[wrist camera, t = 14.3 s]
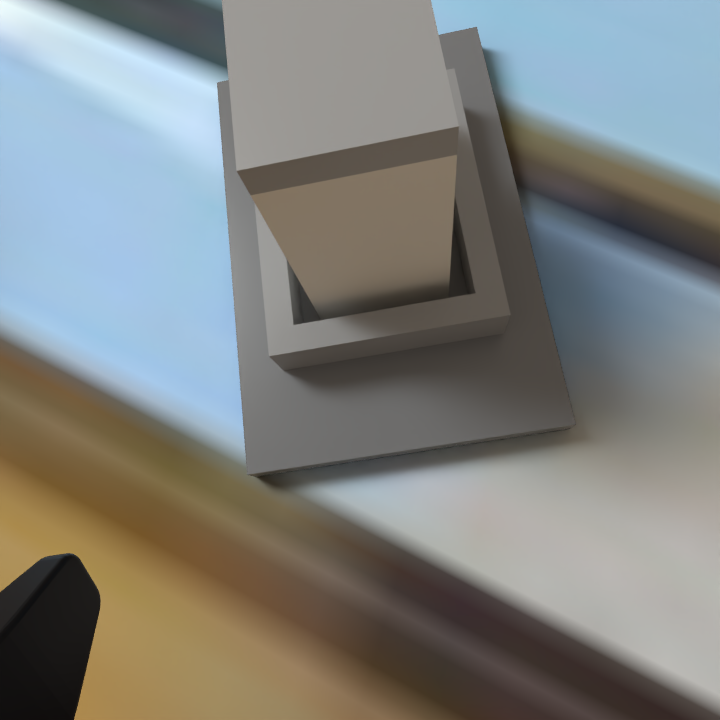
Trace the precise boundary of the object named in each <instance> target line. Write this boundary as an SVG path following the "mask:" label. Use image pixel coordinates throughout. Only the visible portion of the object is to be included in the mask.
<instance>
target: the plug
mask: <svg viewBox="0 0 720 720" xmlns="http://www.w3.org/2000/svg"><path fill="white" fill-rule="evenodd" d="M222 6H223V18H224V29H225V41H226V53H227V65H228V77H229V88H230V100H231V112H232V124H233V135H234V147H235V159H236V171H237V173H238V174H239V176H240V178H241V180H242V181H243V183H244V185H245V187H246V188H247V190H248V192H249V194H250V195H251V197H252V199H253V201H254V202H255V204H256V206H257V208H258V210H259V211H260V213H261V215H262V217H263V218H264V220H265V222H266V224H267V225H268V227H269V229H270V231H271V232H272V234H273V236H274V238H275V239H276V241H277V243H278V245H279V246H280V248H281V250H282V252H283V253H284V255H285V257H286V259H287V260H288V262H289V264H290V266H291V268H292V269H293V271H294V273H295V275H296V276H297V278H298V280H299V282H300V283H301V285H302V287H303V289H304V290H305V292H306V294H307V296H308V297H309V299H310V301H311V303H312V304H313V306H314V308H315V310H316V311H317V313H318V315H319V317H320V318H321V320H325V319H331V318H337V317H342V316H348V315H354V314H360V313H365V312H371V311H377V310H382V309H388V308H394V307H400V306H405V305H411V304H417V303H422V302H428V301H434V300H439V299H445V298H449V281H450V264H451V248H452V231H453V215H454V198H455V181H456V165H457V148H458V132H459V125H458V120H457V116H456V111H455V107H454V102H453V98H452V93H451V89H450V85H449V80H448V76H447V71H446V67H445V62H444V58H443V53H442V49H441V44H440V40H439V35H438V31H437V26H436V22H435V17H434V13H433V8H432V4H431V0H222Z"/></svg>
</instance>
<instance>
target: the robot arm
mask: <svg viewBox="0 0 720 720" xmlns="http://www.w3.org/2000/svg"><path fill="white" fill-rule="evenodd" d="M99 611H100V594H99V591H98V589H97V587H96V585H95V584H94V582H93V580H92V579H91V577H90V575H89V574H88V572H87V570H86V569H85V567H84V565H83V564H82V562H81V560H80V559H79V558H78V557H77V556H76V555H74V554H70V553H67V554H60V555H53V556H47V557H44V558H42V559H40V560H39V561H38V562H36V563H35V564H34V565H33V566H32V567H30V568H29V569H28V570H27V571H26V572H24V573H23V574H22V575H21V576H19V577H18V578H17V579H16V580H15V581H13V582H12V583H11V584H10V585H8V586H7V587H6V588H5V589H4V590H2V591H1V592H0V720H74V717H75V713H76V710H77V706H78V702H79V698H80V694H81V689H82V685H83V680H84V676H85V672H86V667H87V663H88V659H89V654H90V650H91V646H92V641H93V637H94V633H95V628H96V624H97V620H98V615H99Z"/></svg>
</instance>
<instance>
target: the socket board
mask: <svg viewBox="0 0 720 720" xmlns="http://www.w3.org/2000/svg"><path fill="white" fill-rule="evenodd" d="M439 40H440V44H441V49H442V53H443V58H444V62H445V67H446V71H447V76H448V80H449V85H450V89H451V93H452V98H453V102H454V107H455V111H456V116H457V120H458V125H459V132H458V148H457V165H456V181H455V198H454V215H453V231H452V248H451V264H450V281H449V298H445V299H439V300H434V301H428V302H422V303H417V304H411V305H405V306H400V307H394V308H388V309H382V310H377V311H371V312H365V313H360V314H354V315H348V316H342V317H337V318H331V319H325V320H321V318H320V317H319V315H318V313H317V311H316V310H315V308H314V306H313V304H312V303H311V301H310V299H309V297H308V296H307V294H306V292H305V290H304V289H303V287H302V285H301V283H300V282H299V280H298V278H297V276H296V275H295V273H294V271H293V269H292V268H291V266H290V264H289V262H288V260H287V259H286V257H285V255H284V253H283V252H282V250H281V248H280V246H279V245H278V243H277V241H276V239H275V238H274V236H273V234H272V232H271V231H270V229H269V227H268V225H267V224H266V222H265V220H264V218H263V217H262V215H261V213H260V211H259V210H258V208H257V206H256V204H255V202H254V201H253V199H252V197H251V195H250V194H249V192H248V190H247V188H246V187H245V185H244V183H243V181H242V180H241V178H240V176H239V174H238V173H237V171H236V159H235V147H234V135H233V124H232V112H231V100H230V88H229V80H227V81H222V82H218V83H217V88H218V101H219V114H220V127H221V140H222V153H223V166H224V179H225V192H226V205H227V218H228V231H229V244H230V257H231V270H232V283H233V296H234V309H235V322H236V335H237V348H238V361H239V374H240V387H241V400H242V413H243V426H244V439H245V452H246V465H247V475H251V476H255V477H257V476H263V475H270V474H276V473H283V472H289V471H296V470H303V469H309V468H316V467H322V466H329V465H335V464H342V463H348V462H355V461H361V460H368V459H375V458H381V457H388V456H394V455H401V454H407V453H414V452H420V451H427V450H433V449H440V448H447V447H453V446H460V445H466V444H473V443H479V442H486V441H492V440H499V439H505V438H512V437H519V436H525V435H532V434H538V433H545V432H551V431H558V430H564V429H570V428H571V427H573V426H574V425H576V423H575V419H574V415H573V411H572V407H571V403H570V399H569V395H568V391H567V387H566V383H565V379H564V375H563V371H562V367H561V363H560V359H559V355H558V351H557V347H556V343H555V339H554V335H553V331H552V327H551V323H550V319H549V315H548V311H547V307H546V303H545V299H544V295H543V291H542V287H541V283H540V279H539V275H538V271H537V267H536V263H535V259H534V255H533V251H532V247H531V243H530V239H529V235H528V231H527V227H526V223H525V219H524V215H523V211H522V207H521V203H520V199H519V195H518V191H517V187H516V183H515V179H514V175H513V171H512V167H511V162H510V158H509V154H508V150H507V146H506V142H505V138H504V134H503V130H502V126H501V122H500V118H499V114H498V110H497V106H496V102H495V98H494V94H493V90H492V86H491V82H490V78H489V74H488V70H487V66H486V62H485V58H484V54H483V50H482V46H481V42H480V38H479V34H478V30H477V27H474V28H469V29H465V30H460V31H455V32H451V33H446V34H441V35H439Z"/></svg>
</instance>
